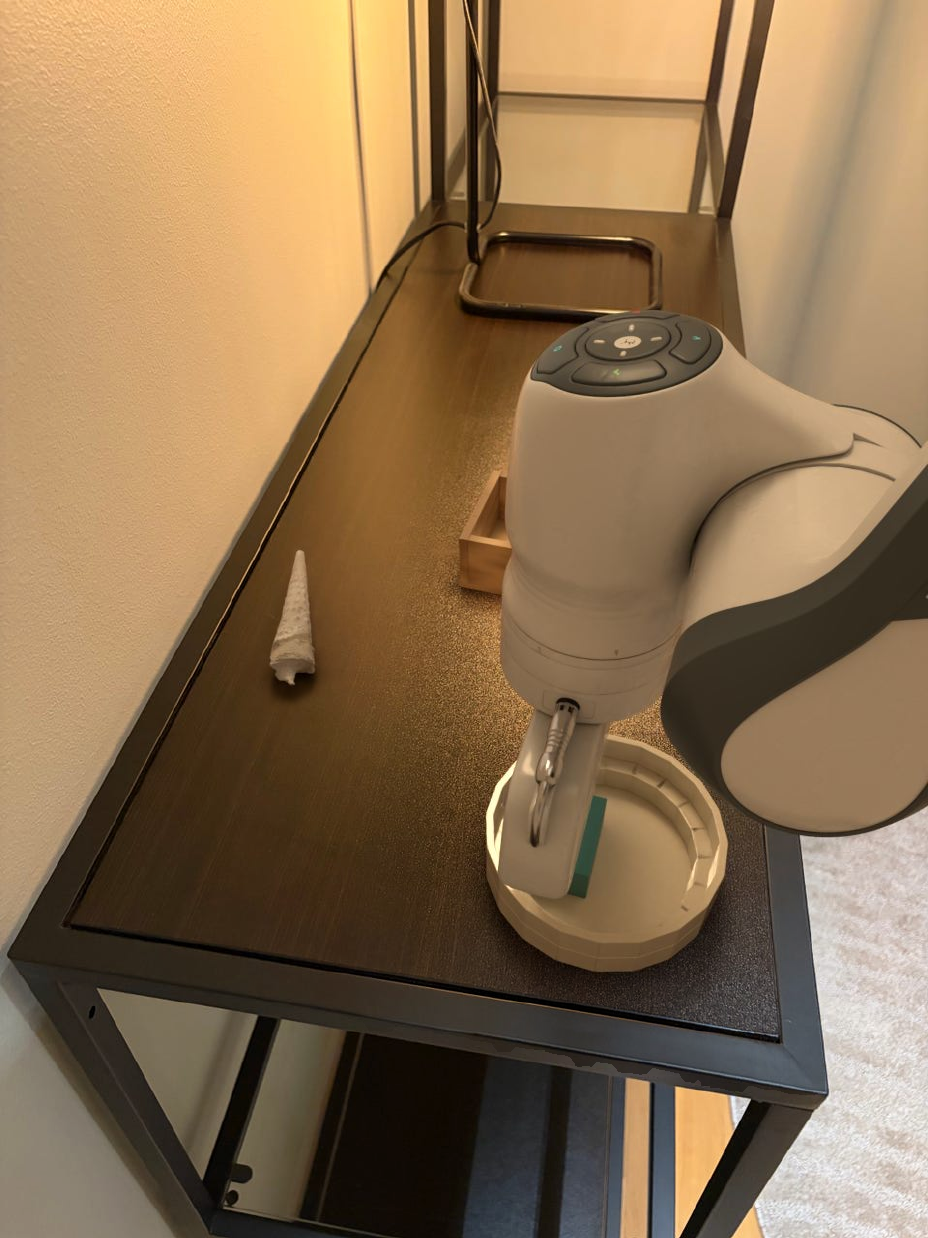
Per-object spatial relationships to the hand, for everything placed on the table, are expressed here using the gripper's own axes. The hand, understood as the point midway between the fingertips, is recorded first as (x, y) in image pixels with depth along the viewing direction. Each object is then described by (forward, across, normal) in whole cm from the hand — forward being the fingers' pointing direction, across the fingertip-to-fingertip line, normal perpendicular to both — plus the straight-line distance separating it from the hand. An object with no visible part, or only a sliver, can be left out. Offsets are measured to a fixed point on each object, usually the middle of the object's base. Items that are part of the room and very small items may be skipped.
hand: (566, 793), depth 53 cm
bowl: (+7, 0, -3) cm, 8 cm away
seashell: (+8, +14, +25) cm, 30 cm away
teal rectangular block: (+7, 0, 0) cm, 7 cm away
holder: (+7, +29, +8) cm, 31 cm away
